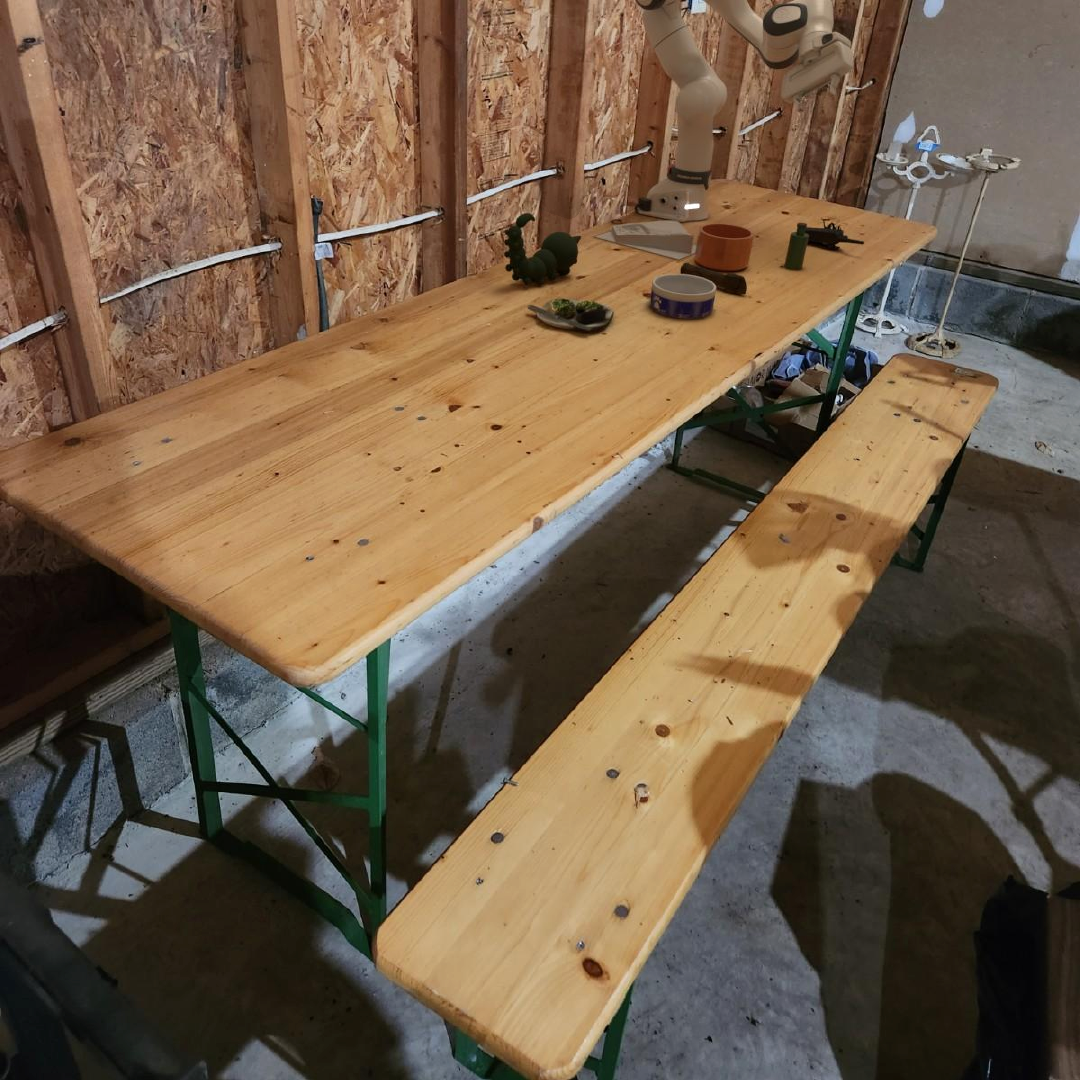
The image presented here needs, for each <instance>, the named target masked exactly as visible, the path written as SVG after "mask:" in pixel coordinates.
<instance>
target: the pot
mask: <svg viewBox="0 0 1080 1080" xmlns="http://www.w3.org/2000/svg"><path fill="white" fill-rule="evenodd" d="M697 233H698V234H697V241H696V245H697V246H696V252H695V253H694V260H695V262H696V263H697V264H699V265H700V266H702V267H703V268H705V269H708V270H712V271H717V272H718V271H719V272H736V271H740V270H742V269H746V268H747V267H748V266H749V264H750V259H751V254H752V248H753V242H754V237H755V233H754V231H753V230H751V229H749V228H747V227H745V226H741V225H737V224H731V223H721V222H716V223H715V222H713V223H711V222H710V223H705V224H702V225H700V226H699V228H698V232H697Z"/></svg>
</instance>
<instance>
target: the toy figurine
mask: <svg viewBox="0 0 1080 1080" xmlns="http://www.w3.org/2000/svg"><path fill="white" fill-rule="evenodd" d="M530 221H531V222H535V221H536V218H535V216H534V214H532V213H529V212H524V213H521V214H520V215H518V217H517V218H516V220H515V224H514V225H513V224H512V225H510V226H509V227H508V229H505V230H504V235H505V236H507V237H508V238H506V239H505V240H504V241H503V244H504V245H505V246H507V247H508V250H506V251H504V253H503V256H504V257H505V258H507V259H508V258H509V263H507V264H506V265H505V267H504V269H505V271H507V272H509V273H510V272H512V274H511V279H512V280H513V281H515V282H517V281H519V280H521V281H522V284H523V285H525V286H529V285H530V284H531V283H535V285H537V286H539V287H541V286H543V285H544V283H545V279H544V278H547V280H548V281H551V282H554V281H556V280H557V279H558V275H559V276H560V277H564V276H568V275H570V272H571V268H572V267H573V266H574V265H576V264H577V263H578V256H579V247H578V244H579V242H580V240H581V239H582V236H581V235H575V236H572V235H570V234H569V233H568V232H565V231H555V232H552V233H550V234H548V235H547V236H546V237H545V238H544V239H543V241H542V243H541V246H540V249H539V250H537V251H536V252H535V253H533V255H532V256H530V257H527V256H526V255H527V253H526V252H527V251H526V249H525V247H524V242H525V241H524V238H523V232H522V229H523V228H524V227H525V226H527V224H528V223H529V222H530Z"/></svg>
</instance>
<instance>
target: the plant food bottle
mask: <svg viewBox="0 0 1080 1080" xmlns="http://www.w3.org/2000/svg"><path fill="white" fill-rule="evenodd" d="M807 227H808V224H807V223H806V222H797V224H796V231H793V232H791V233H790V237H789V242H788V246H787V252H786V255H785V261H784V264H783V265H784V268H786V269H787V270H788V269H789V270H791V271H792V270H793V271H799V270H800V271H801V270H802V269H803V265H804V261H805V256H806V251H807V246H808V238H809V235H808V234H806V233H805V229H806V228H807Z"/></svg>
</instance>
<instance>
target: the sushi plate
mask: <svg viewBox="0 0 1080 1080" xmlns="http://www.w3.org/2000/svg"><path fill="white" fill-rule="evenodd" d="M526 308H527V310H530V311H531V312H533V313H535V314H536V316H537V317H536V318H538V319H539V320H540V321H542V322H543V323H545V324H547V325H549V326H551V327H553V328H557V329H562V330H568V331H572V332H578V333H584V334H592V333H593V334H594V333H598V332H601V331H604V330H605V329H606V328H607V326H608V325H609V324H610V323H611V320H612V319H613V317H614V313H615V312H614V309H613V308H612V307H611V306H608V305H606V304H603V303H600V302H597V301H593V300H590V301H589V300H583V301H581V300H577V299H571V298H564V297H563V298H562V297H559V298H554V299H550V300H547V301H545V303H544V304H543V305H542V307H541V308H540V307H538V306H537V305H534V304H528V305H527V307H526Z"/></svg>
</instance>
